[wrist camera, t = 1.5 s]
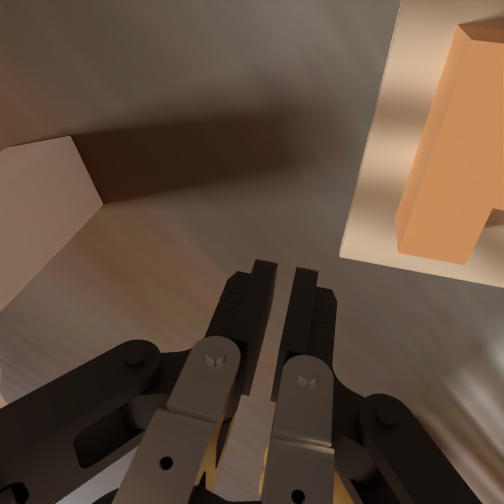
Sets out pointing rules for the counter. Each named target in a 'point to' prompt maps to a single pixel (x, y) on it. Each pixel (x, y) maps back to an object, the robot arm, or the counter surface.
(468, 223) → the t block
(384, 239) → the push board
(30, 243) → the milk
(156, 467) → the robot arm
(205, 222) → the counter surface
